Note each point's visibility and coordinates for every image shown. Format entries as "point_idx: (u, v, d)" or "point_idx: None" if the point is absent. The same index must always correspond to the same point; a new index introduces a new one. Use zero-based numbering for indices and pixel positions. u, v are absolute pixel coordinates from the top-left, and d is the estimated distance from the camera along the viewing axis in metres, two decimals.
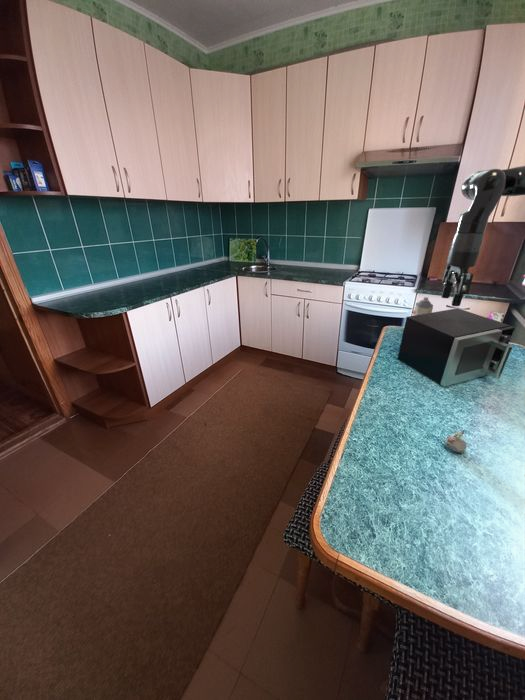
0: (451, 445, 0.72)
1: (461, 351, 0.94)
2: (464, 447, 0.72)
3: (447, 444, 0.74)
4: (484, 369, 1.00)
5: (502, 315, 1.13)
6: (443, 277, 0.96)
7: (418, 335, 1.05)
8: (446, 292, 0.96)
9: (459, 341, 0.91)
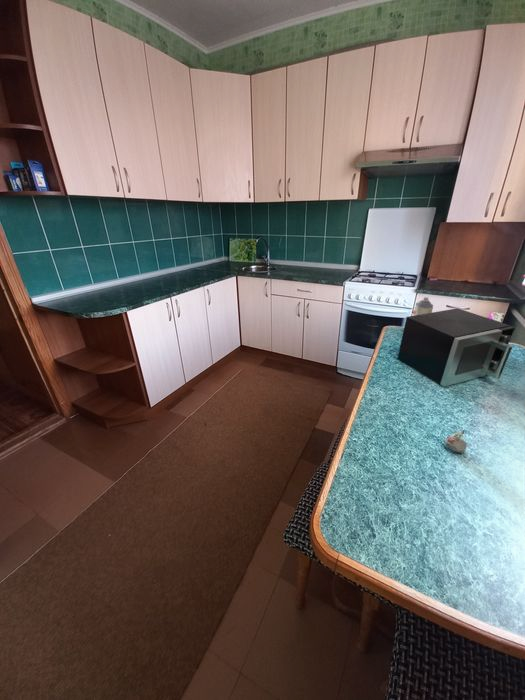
0: (451, 445, 0.72)
1: (461, 351, 0.94)
2: (464, 447, 0.72)
3: (447, 444, 0.74)
4: (484, 369, 1.00)
5: (502, 315, 1.13)
6: None
7: (418, 335, 1.05)
8: None
9: (459, 341, 0.91)
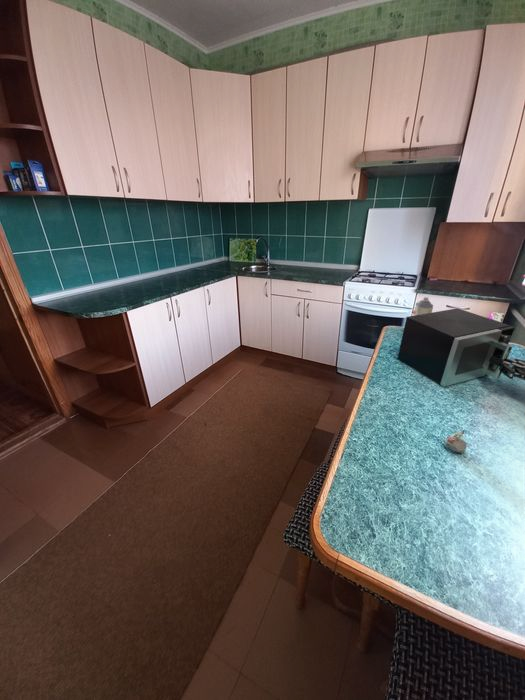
0: (451, 445, 0.72)
1: (461, 351, 0.94)
2: (464, 447, 0.72)
3: (447, 444, 0.74)
4: (484, 369, 1.00)
5: (502, 315, 1.13)
6: None
7: (418, 335, 1.05)
8: None
9: (459, 341, 0.91)
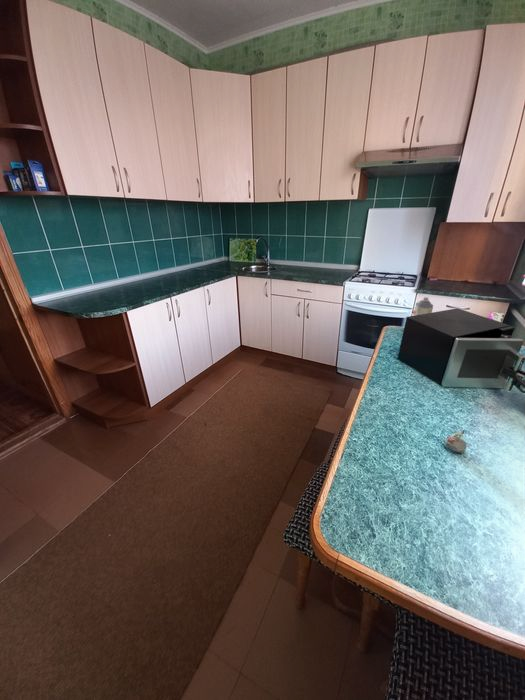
0: (451, 445, 0.72)
1: (463, 353, 0.93)
2: (464, 447, 0.72)
3: (447, 444, 0.74)
4: (498, 379, 0.95)
5: (502, 315, 1.13)
6: None
7: (418, 335, 1.05)
8: None
9: (459, 341, 0.91)
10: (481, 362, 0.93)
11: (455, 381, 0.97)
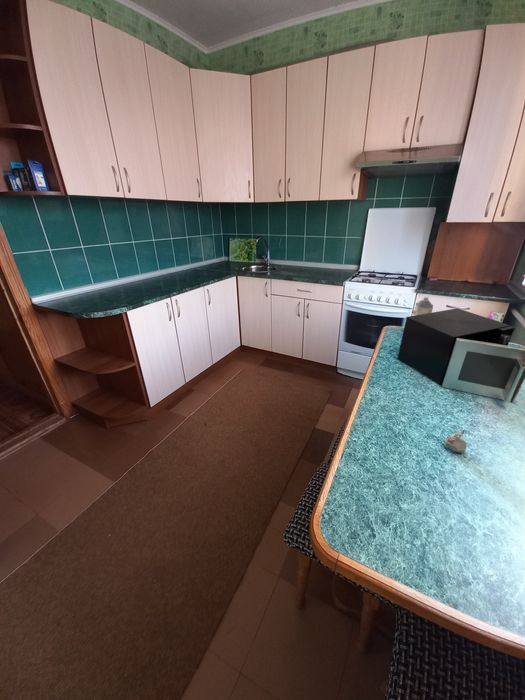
0: (451, 445, 0.72)
1: (463, 354, 0.92)
2: (464, 447, 0.72)
3: (447, 444, 0.74)
4: (503, 390, 0.89)
5: (502, 315, 1.13)
6: None
7: (418, 335, 1.05)
8: None
9: (458, 342, 0.91)
10: (484, 368, 0.90)
11: (455, 383, 0.96)
